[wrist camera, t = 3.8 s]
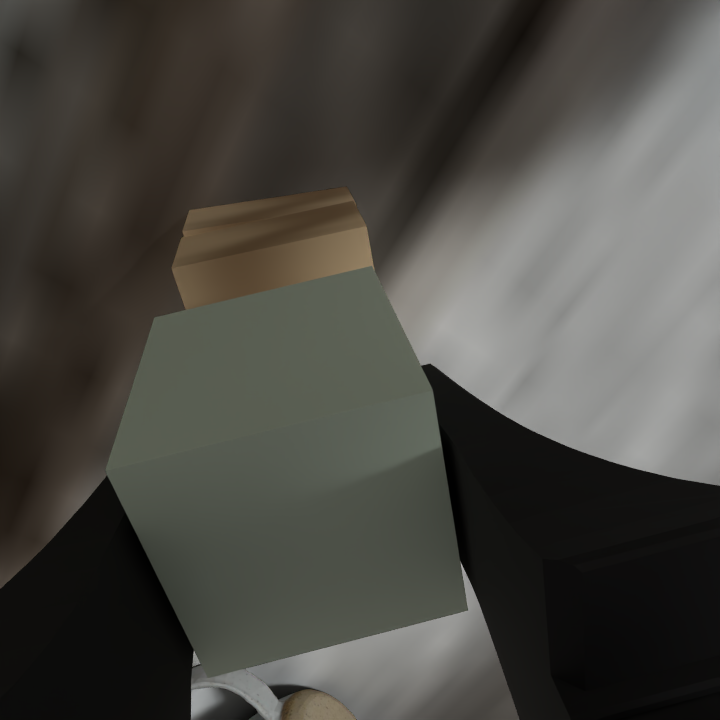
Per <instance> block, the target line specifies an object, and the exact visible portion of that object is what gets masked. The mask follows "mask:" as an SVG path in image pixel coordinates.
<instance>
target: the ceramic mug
mask: <svg viewBox="0 0 720 720" xmlns="http://www.w3.org/2000/svg"><path fill="white" fill-rule="evenodd" d="M207 687H214V688H217V687H219V688H223V689H227V690H229V691H232V692H234V693H235V694H238V695H240V696H241V697H242V698H243V699H244V700H246V701H247V702H248V703H249V704H250V705H252V706H253V707H254V708H255V709H256V710H257V711H258V713H257V714H256V715H254V716H253V717H251V718H250V719H248V720H357V719H356V718H355V717H354V715H353V714H352V713H351V712H350V711H349V710H348V709H347V708H346V707H345V706H344V705H343V704H342V703H341V702H339V701H338V700H337V699H335V698H334V697H332V696H330V695H329V694H327V693H324V692H320V691H316V690H312V689H305V690H301V691H298V692H295V693H293V694H291V695H288V696H286V697H283V698H281V699H279V700H278V699H277V697H276V696H274V694H273V692H272V691H271V690H270V688H269V687H268V686H267V685H266V684H265V683H264V682H263V681H262V680H260V679H259V678H257V677H255V676H254V675H253V674H251V673H249V672H248V671H246V669H241V670H238V671H234V672H230V673H226V674H222V675H218V676H215V677H211V678H208V677H207V675H206V673H205V671H204V669H203V667H202V665H200V666H197V667H194V668H192V676H191V690H194V689H200V688H207Z"/></svg>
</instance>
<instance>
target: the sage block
mask: <svg viewBox="0 0 720 720" xmlns="http://www.w3.org/2000/svg"><path fill="white" fill-rule="evenodd" d="M105 472H106V474H107V476H108V478H109V480H110V482H111V484H112V486H113V488H114V490H115V492H116V494H117V496H118V498H119V500H120V502H121V504H122V506H123V508H124V510H125V512H126V514H127V516H128V518H129V520H130V522H131V524H132V526H133V528H134V530H135V532H136V534H137V536H138V538H139V540H140V542H141V544H142V546H143V548H144V550H145V552H146V554H147V556H148V558H149V560H150V562H151V564H152V566H153V568H154V570H155V573H156V575H157V577H158V579H159V581H160V583H161V585H162V587H163V589H164V591H165V593H166V595H167V597H168V599H169V601H170V603H171V605H172V607H173V609H174V611H175V613H176V615H177V617H178V619H179V621H180V623H181V625H182V627H183V629H184V631H185V633H186V635H187V637H188V639H189V641H190V643H191V645H192V647H193V649H194V651H195V653H196V655H197V657H198V659H199V661H200V663H201V665H202V667H203V669H204V671H205V673H206V675H207V677H208V678H211V677H215V676H218V675H222V674H226V673H230V672H234V671H238V670H241V669H245V668H249V667H253V666H257V665H261V664H264V663H268V662H272V661H276V660H280V659H284V658H287V657H291V656H295V655H299V654H303V653H307V652H310V651H314V650H318V649H322V648H326V647H330V646H333V645H337V644H341V643H345V642H349V641H353V640H356V639H360V638H364V637H368V636H372V635H376V634H380V633H383V632H387V631H391V630H395V629H399V628H403V627H406V626H410V625H414V624H418V623H422V622H426V621H429V620H433V619H437V618H441V617H445V616H449V615H452V614H456V613H460V612H464V611H468V607H467V601H466V595H465V588H464V582H463V576H462V570H461V563H460V557H459V551H458V545H457V538H456V532H455V526H454V520H453V513H452V507H451V501H450V495H449V488H448V482H447V476H446V470H445V463H444V457H443V451H442V445H441V438H440V432H439V426H438V420H437V414H436V407H435V401H434V395H433V389H432V387H431V385H430V383H429V381H428V379H427V377H426V375H425V373H424V371H423V369H422V367H421V365H420V363H419V361H418V359H417V357H416V355H415V353H414V351H413V349H412V347H411V344H410V342H409V340H408V338H407V336H406V334H405V332H404V330H403V328H402V326H401V324H400V322H399V320H398V318H397V316H396V314H395V312H394V310H393V308H392V306H391V304H390V302H389V299H388V297H387V295H386V293H385V291H384V289H383V287H382V285H381V283H380V281H379V279H378V277H377V275H376V273H375V271H374V269H373V267H372V266H369V267H364V268H360V269H356V270H352V271H348V272H343V273H339V274H335V275H331V276H327V277H322V278H318V279H314V280H310V281H306V282H301V283H297V284H293V285H289V286H284V287H280V288H276V289H272V290H268V291H263V292H259V293H255V294H251V295H247V296H242V297H238V298H234V299H230V300H226V301H221V302H217V303H213V304H209V305H205V306H200V307H196V308H192V309H188V310H184V311H179V312H175V313H171V314H167V315H162V316H158V317H154V320H153V324H152V327H151V330H150V333H149V336H148V339H147V342H146V345H145V348H144V351H143V355H142V358H141V361H140V364H139V367H138V370H137V373H136V376H135V379H134V382H133V386H132V389H131V392H130V395H129V398H128V401H127V404H126V407H125V410H124V413H123V417H122V420H121V423H120V426H119V429H118V432H117V435H116V438H115V441H114V444H113V448H112V451H111V454H110V457H109V460H108V463H107V466H106V469H105Z"/></svg>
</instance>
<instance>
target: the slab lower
mask: <svg viewBox="0 0 720 720" xmlns="http://www.w3.org/2000/svg"><path fill="white" fill-rule="evenodd" d="M349 201H354V199H353V197H352V195H351V194H350V192H349V190H348V188H347V187H340V188H333V189H327V190H320V191H313V192H307V193H300V194H293V195H287V196H280V197H273V198H267V199H260V200H253V201H247V202H240V203H233V204H227V205H220V206H213V207H207V208H200V209H193V210H189V212H188V216H187V219H186V222H185V225H184V228H183V231H182V232H183V236H184V237H187V236H191V235H196V234H201V233H205V232H210V231H215V230H219V229H224V228H229V227H233V226H238V225H243V224H247V223H252V222H257V221H261V220H266V219H270V218H275V217H280V216H284V215H289V214H294V213H298V212H303V211H308V210H312V209H317V208H322V207H326V206H331V205H336V204H340V203H345V202H349ZM354 203H355V201H354ZM355 205H356V203H355ZM356 207H357V205H356Z"/></svg>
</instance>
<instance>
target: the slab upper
mask: <svg viewBox="0 0 720 720" xmlns="http://www.w3.org/2000/svg"><path fill="white" fill-rule="evenodd" d="M369 266H372V267H373V269H374V266H373V260H372V254H371V248H370V243H369V237H368V231H367V226H366V224H365V222H364V220H363V218H362V216H361V214H360V213H359V211H358V209H357V207H356V205H355V203H354V201H349V202H345V203H340V204H336V205H331V206H326V207H322V208H317V209H312V210H308V211H303V212H298V213H294V214H289V215H284V216H280V217H275V218H270V219H266V220H261V221H257V222H252V223H247V224H243V225H238V226H233V227H229V228H224V229H219V230H215V231H210V232H205V233H201V234H196V235H191V236H187V237H182V238H181V240H180V243H179V246H178V249H177V252H176V256H175V259H174V262H173V265H172V268H171V269H172V272H173V275H174V278H175V280H176V283H177V286H178V289H179V292H180V295H181V298H182V301H183V304H184V307H185V310H188V309H192V308H196V307H200V306H205V305H209V304H213V303H217V302H221V301H226V300H230V299H234V298H238V297H242V296H247V295H251V294H255V293H259V292H263V291H268V290H272V289H276V288H280V287H284V286H289V285H293V284H297V283H301V282H306V281H310V280H314V279H318V278H322V277H327V276H331V275H335V274H339V273H343V272H348V271H352V270H356V269H360V268H364V267H369Z"/></svg>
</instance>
